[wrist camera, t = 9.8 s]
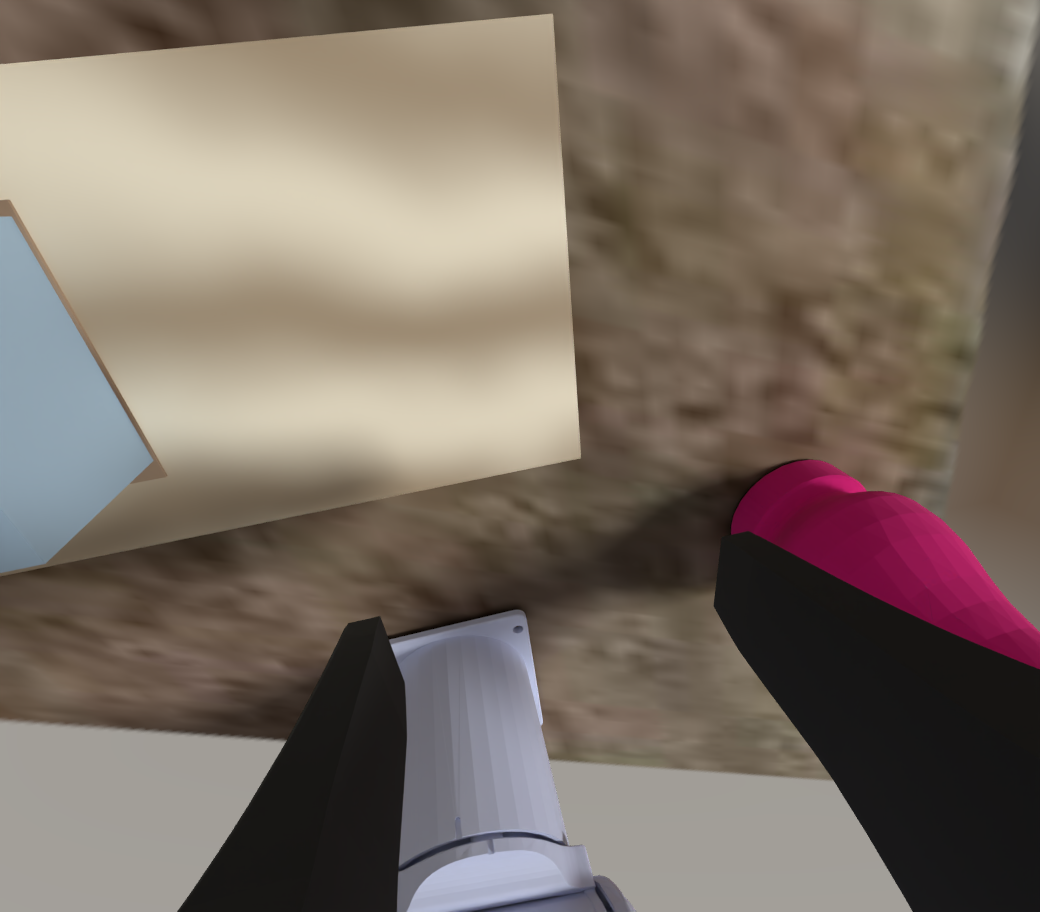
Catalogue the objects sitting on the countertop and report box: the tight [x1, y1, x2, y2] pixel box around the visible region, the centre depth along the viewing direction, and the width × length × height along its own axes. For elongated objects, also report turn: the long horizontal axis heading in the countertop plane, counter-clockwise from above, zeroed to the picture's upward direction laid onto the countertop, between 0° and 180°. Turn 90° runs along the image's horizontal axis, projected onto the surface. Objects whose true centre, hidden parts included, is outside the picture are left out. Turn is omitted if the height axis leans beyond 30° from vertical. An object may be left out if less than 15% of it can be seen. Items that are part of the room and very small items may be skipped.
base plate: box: [0, 14, 581, 576], centre depth 12 cm, size 13×22×6 cm, turn 97°
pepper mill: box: [731, 460, 1040, 669], centre depth 15 cm, size 7×7×20 cm
